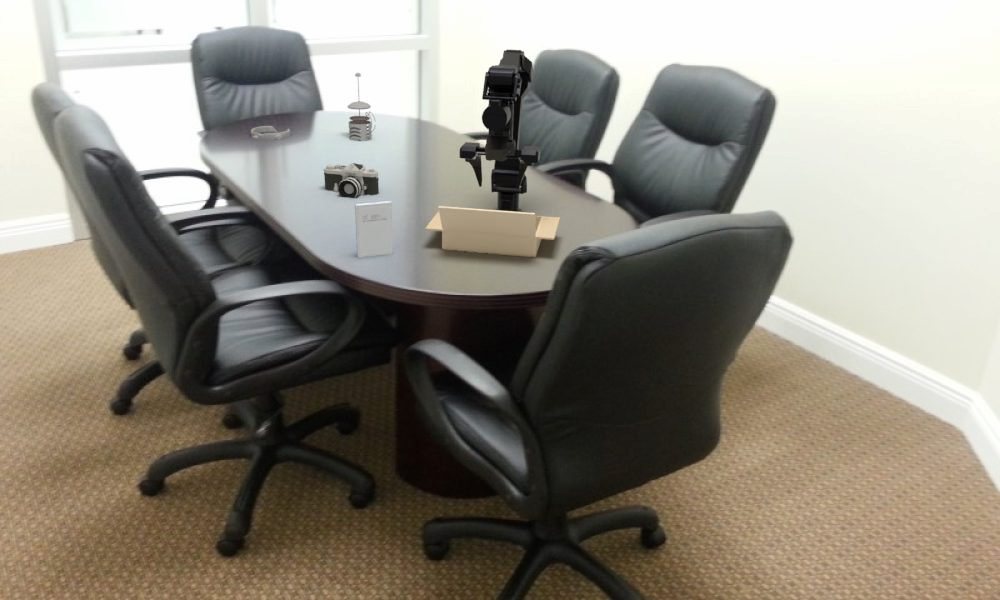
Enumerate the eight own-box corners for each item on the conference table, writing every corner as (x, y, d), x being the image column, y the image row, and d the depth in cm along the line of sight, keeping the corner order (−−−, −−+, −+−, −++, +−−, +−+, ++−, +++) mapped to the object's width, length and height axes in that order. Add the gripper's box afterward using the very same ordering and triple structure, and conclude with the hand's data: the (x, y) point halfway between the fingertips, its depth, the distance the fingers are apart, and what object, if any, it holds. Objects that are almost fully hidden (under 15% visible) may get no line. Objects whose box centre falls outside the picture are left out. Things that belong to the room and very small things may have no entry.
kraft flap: (438, 206, 180) (438, 207, 180) (534, 213, 178) (534, 214, 177) (442, 228, 187) (442, 229, 187) (535, 235, 184) (535, 236, 184)
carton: (440, 227, 204) (440, 208, 202) (558, 236, 200) (560, 217, 198) (425, 248, 190) (425, 228, 188) (552, 258, 186) (554, 238, 184)
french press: (360, 141, 294) (357, 70, 284) (384, 145, 287) (382, 73, 278) (340, 145, 286) (337, 72, 276) (364, 150, 280) (361, 76, 270)
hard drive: (356, 256, 184) (354, 203, 179) (391, 252, 187) (390, 200, 182) (358, 258, 182) (356, 205, 178) (393, 254, 186) (392, 202, 181)
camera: (316, 199, 225) (314, 163, 221) (328, 191, 233) (326, 156, 229) (370, 204, 222) (369, 168, 218) (381, 195, 230) (380, 161, 226)
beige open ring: (260, 138, 294) (259, 124, 292) (297, 140, 292) (296, 126, 290) (243, 146, 281) (242, 132, 279) (281, 149, 279) (280, 134, 277)
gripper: (455, 127, 184) (454, 194, 190) (536, 132, 181) (533, 199, 187) (464, 118, 194) (463, 181, 200) (542, 122, 191) (538, 187, 197)
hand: (499, 187), depth 196 cm, fingers open, 9 cm apart
